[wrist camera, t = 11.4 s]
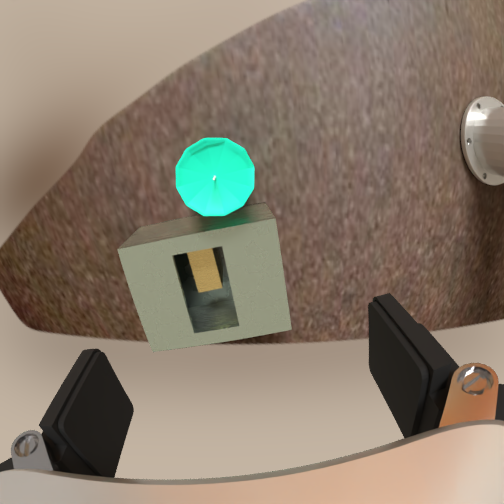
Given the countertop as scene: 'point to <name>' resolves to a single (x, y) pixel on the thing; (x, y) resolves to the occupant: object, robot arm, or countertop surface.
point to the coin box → (214, 301)
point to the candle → (215, 176)
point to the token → (206, 269)
